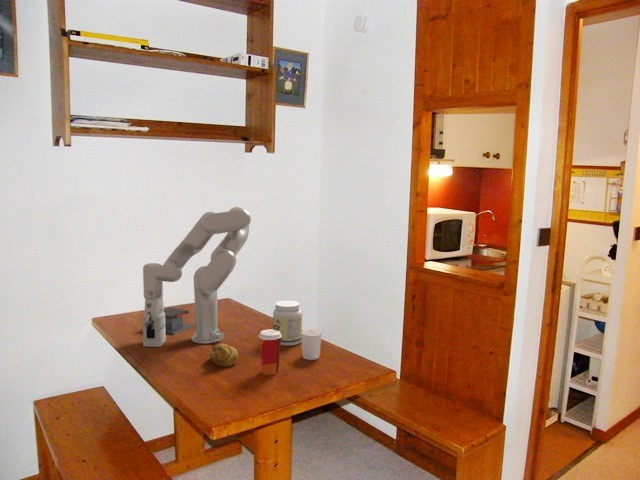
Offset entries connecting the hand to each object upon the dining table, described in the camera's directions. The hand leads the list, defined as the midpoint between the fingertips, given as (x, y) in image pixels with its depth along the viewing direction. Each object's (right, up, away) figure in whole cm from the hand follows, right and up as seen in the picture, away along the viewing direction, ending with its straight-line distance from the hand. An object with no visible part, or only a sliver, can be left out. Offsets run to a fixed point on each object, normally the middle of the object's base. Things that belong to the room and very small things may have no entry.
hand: (154, 334), depth 217 cm
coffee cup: (+51, -9, -27) cm, 58 cm away
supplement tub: (+55, -4, +6) cm, 55 cm away
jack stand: (+1, -1, +21) cm, 21 cm away
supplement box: (0, -4, +1) cm, 4 cm away
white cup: (+65, -7, -11) cm, 67 cm away
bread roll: (+32, -7, -18) cm, 38 cm away
